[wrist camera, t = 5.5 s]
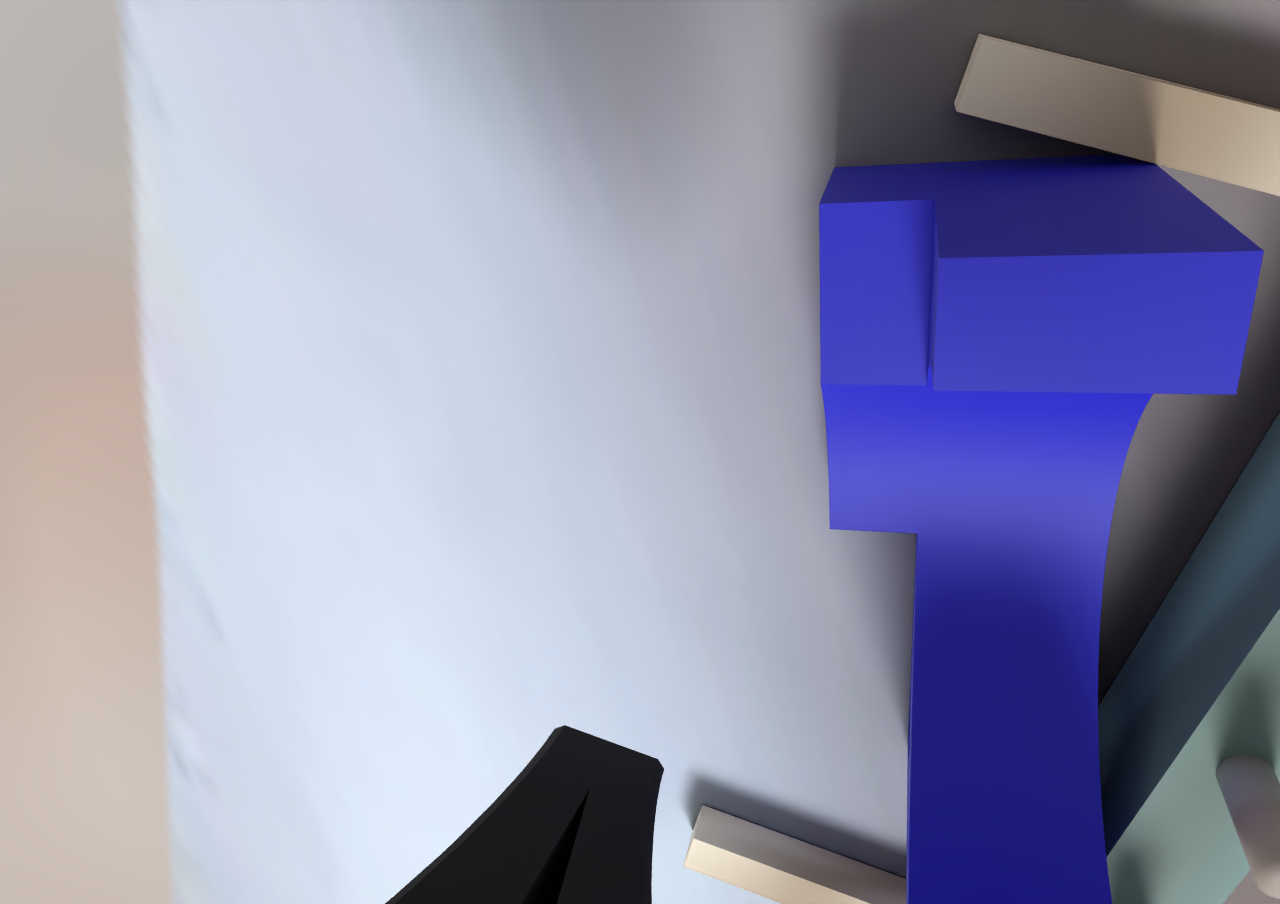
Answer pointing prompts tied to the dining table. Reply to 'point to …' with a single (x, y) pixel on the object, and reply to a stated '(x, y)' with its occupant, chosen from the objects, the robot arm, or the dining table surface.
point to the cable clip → (1011, 466)
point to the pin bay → (1194, 607)
